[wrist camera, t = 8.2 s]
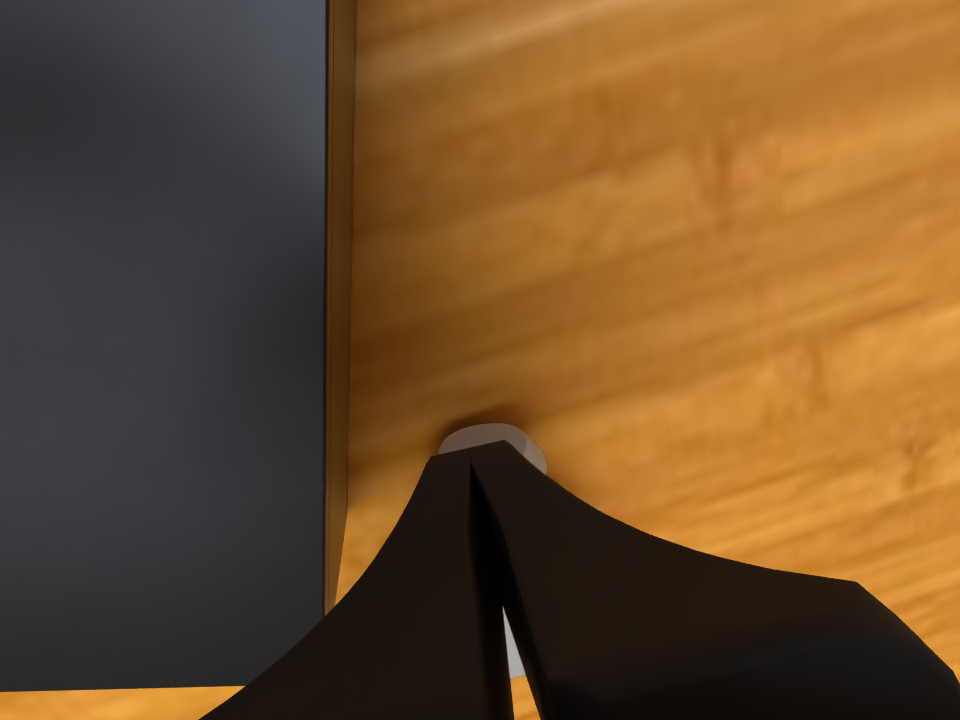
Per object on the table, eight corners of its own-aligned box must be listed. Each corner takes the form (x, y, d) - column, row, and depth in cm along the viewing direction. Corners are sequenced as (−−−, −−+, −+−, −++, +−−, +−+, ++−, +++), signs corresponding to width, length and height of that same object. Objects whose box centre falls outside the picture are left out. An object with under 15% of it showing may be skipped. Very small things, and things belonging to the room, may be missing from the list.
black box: (-221, -111, 15) (-723, -306, 8) (357, -45, 17) (329, -162, 10) (-90, 509, 20) (-338, 701, 13) (347, 512, 21) (324, 685, 15)
